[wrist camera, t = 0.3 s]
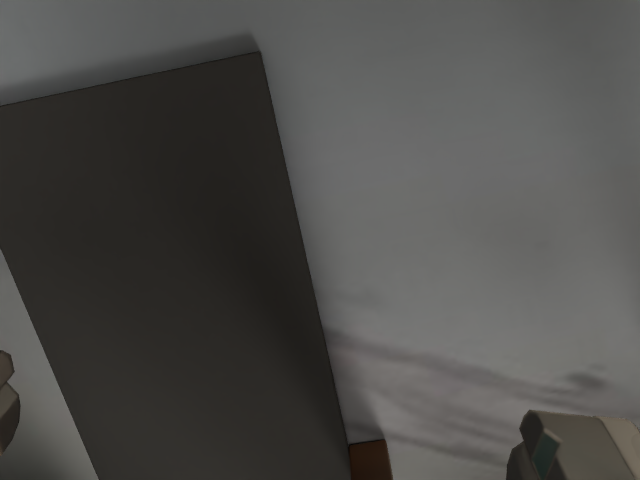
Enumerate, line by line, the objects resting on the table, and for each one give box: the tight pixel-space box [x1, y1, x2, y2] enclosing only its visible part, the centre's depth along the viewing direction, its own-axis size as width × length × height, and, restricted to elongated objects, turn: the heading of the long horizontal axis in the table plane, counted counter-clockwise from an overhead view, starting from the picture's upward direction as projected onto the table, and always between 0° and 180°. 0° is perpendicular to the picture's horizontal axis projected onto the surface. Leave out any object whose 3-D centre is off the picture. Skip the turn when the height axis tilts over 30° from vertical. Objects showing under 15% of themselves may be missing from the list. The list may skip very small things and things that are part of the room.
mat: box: [0, 51, 351, 480], centre depth 20 cm, size 22×10×1 cm, turn 11°
